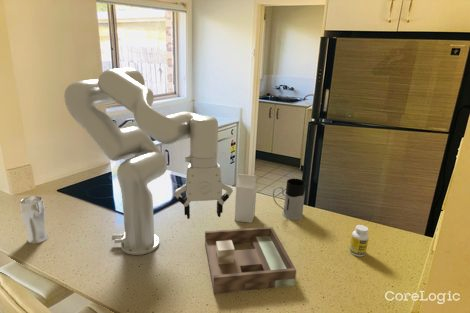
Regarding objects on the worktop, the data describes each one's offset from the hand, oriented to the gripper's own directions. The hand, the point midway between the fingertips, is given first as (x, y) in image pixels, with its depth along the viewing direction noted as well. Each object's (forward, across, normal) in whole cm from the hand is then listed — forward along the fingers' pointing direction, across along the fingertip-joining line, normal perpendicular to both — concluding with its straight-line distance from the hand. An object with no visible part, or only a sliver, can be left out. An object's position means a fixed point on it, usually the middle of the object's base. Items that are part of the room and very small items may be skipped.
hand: (203, 215), depth 97 cm
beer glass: (+18, -55, +23) cm, 63 cm away
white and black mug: (+19, +38, +29) cm, 51 cm away
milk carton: (+19, +20, +29) cm, 40 cm away
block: (+16, +7, 0) cm, 17 cm away
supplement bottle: (+19, +54, +1) cm, 57 cm away
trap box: (+18, +14, 0) cm, 23 cm away
